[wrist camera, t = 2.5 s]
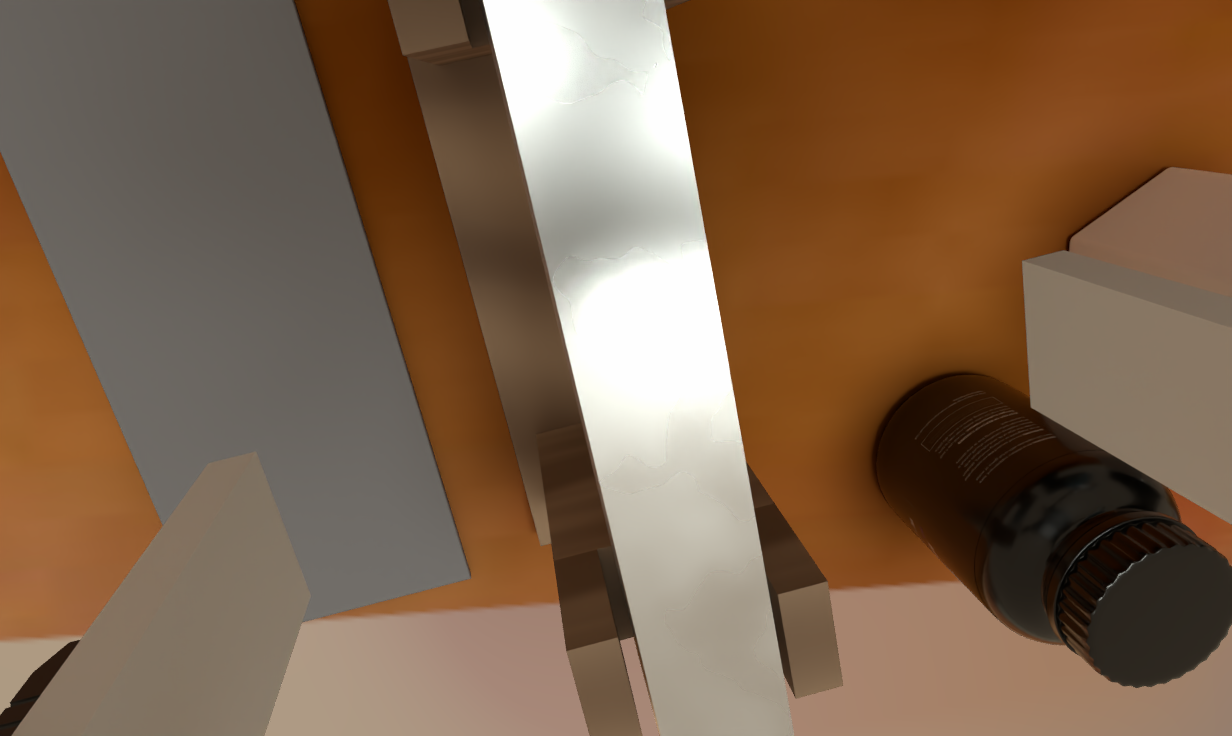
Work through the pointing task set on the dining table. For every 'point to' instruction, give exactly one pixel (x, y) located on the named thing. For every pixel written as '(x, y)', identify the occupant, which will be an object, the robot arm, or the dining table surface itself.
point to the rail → (644, 349)
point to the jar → (1169, 230)
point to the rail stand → (565, 379)
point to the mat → (226, 273)
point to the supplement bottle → (1054, 531)
